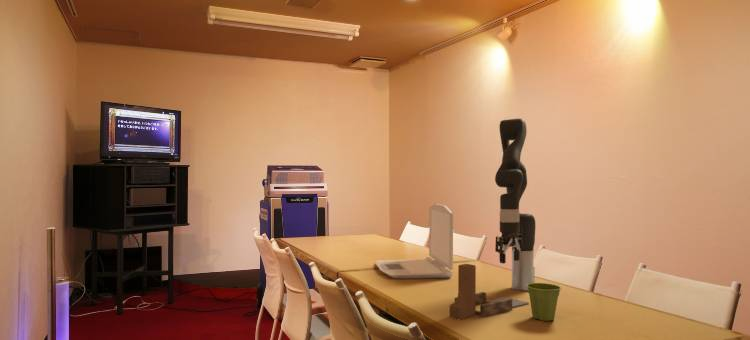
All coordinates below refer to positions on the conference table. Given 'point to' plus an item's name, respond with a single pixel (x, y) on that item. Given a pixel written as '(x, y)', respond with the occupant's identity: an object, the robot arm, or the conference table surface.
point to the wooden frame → (491, 305)
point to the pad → (514, 302)
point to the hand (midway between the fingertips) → (509, 261)
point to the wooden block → (465, 293)
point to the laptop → (437, 250)
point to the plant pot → (543, 300)
